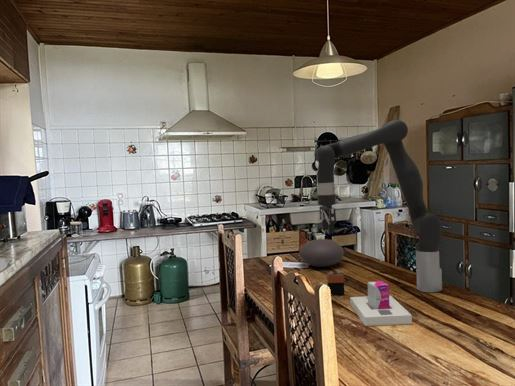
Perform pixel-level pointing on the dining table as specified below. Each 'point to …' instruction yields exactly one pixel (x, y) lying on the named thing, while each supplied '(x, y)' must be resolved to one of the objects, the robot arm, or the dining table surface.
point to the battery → (336, 282)
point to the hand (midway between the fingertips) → (328, 231)
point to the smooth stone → (321, 252)
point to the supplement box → (378, 295)
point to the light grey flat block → (380, 312)
